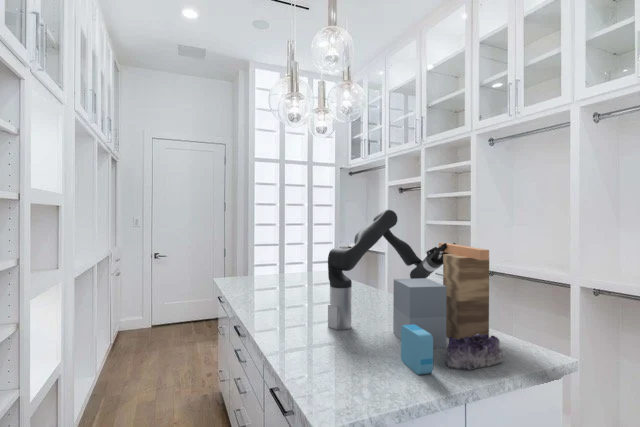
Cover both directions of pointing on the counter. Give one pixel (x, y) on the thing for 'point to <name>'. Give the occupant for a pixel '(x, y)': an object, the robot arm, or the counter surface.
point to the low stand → (420, 307)
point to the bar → (467, 251)
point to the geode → (473, 352)
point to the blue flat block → (417, 349)
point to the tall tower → (466, 296)
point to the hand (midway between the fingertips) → (450, 245)
